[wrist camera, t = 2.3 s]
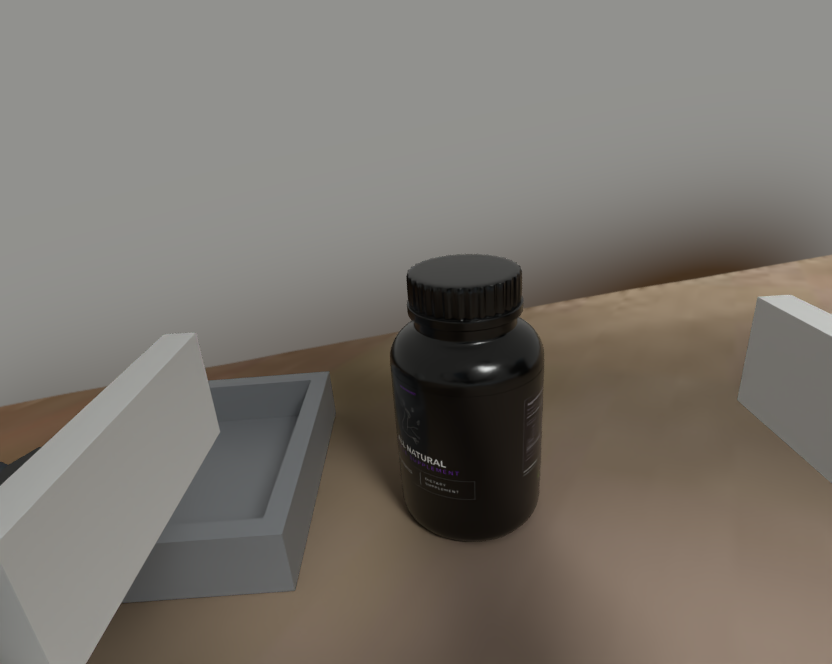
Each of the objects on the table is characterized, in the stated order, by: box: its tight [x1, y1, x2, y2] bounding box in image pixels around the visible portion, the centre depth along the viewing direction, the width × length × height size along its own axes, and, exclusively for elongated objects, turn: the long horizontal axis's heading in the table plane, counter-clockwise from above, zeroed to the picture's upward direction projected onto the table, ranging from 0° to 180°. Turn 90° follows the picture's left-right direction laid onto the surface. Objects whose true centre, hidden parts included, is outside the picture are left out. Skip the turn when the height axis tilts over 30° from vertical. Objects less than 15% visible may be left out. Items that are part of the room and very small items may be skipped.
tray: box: [121, 371, 336, 603], centre depth 28 cm, size 14×14×3 cm
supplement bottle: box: [390, 254, 544, 542], centre depth 24 cm, size 7×7×12 cm
